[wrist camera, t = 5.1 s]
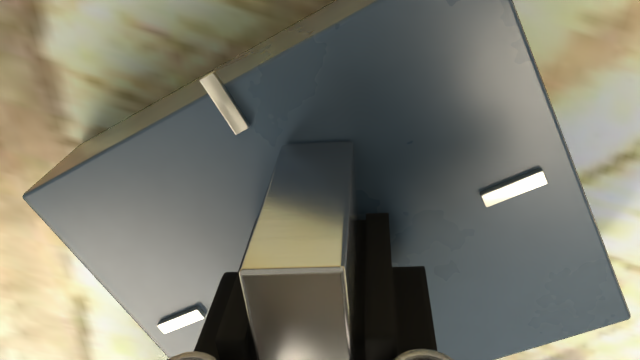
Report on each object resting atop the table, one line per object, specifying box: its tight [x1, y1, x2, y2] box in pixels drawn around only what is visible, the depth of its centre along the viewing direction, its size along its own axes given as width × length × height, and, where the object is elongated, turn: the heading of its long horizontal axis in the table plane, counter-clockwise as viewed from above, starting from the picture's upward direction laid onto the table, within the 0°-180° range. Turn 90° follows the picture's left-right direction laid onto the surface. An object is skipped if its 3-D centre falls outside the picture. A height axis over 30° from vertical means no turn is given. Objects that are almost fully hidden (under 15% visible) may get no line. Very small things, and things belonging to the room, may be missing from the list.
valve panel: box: [23, 0, 630, 360], centre depth 14 cm, size 12×11×3 cm
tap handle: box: [239, 141, 359, 360], centre depth 11 cm, size 6×2×5 cm, turn 6°
